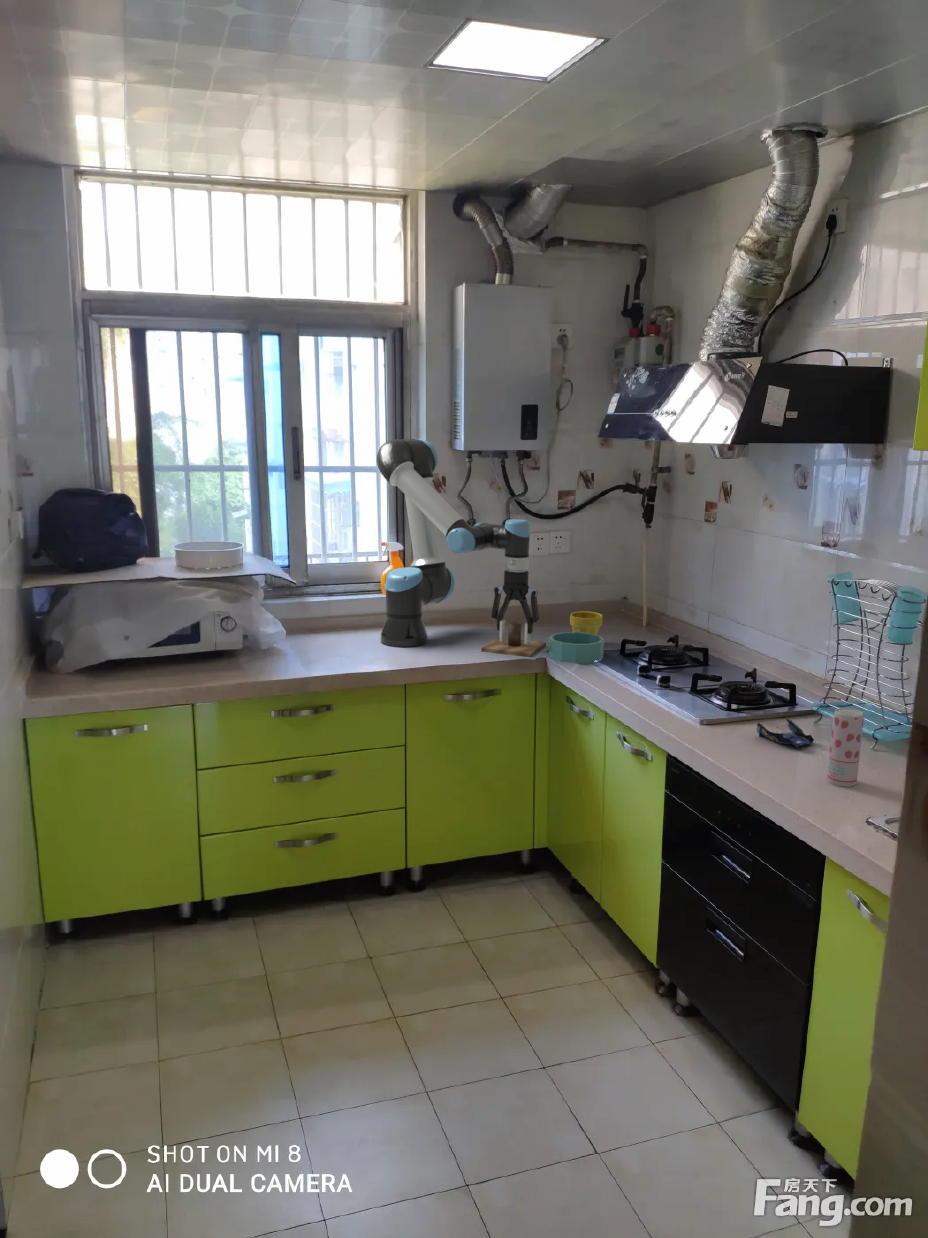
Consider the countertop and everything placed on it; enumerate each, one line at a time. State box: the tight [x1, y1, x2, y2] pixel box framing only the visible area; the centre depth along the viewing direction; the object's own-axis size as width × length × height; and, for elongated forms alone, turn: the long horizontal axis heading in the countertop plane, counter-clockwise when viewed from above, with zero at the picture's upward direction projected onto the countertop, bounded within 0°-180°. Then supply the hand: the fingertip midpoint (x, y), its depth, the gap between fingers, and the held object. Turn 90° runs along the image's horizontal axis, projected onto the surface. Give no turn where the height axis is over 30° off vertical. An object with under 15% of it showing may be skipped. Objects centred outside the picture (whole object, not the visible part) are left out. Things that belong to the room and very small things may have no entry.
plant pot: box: [569, 610, 604, 636], centre depth 302 cm, size 10×10×10 cm
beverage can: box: [826, 707, 864, 788], centre depth 189 cm, size 6×6×15 cm
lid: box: [480, 621, 547, 657], centre depth 293 cm, size 16×16×8 cm
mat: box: [472, 638, 549, 660], centre depth 293 cm, size 20×20×1 cm
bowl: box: [548, 631, 605, 665], centre depth 285 cm, size 16×16×6 cm
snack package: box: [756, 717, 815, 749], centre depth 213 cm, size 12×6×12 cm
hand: (514, 641), depth 293 cm, fingers open, 8 cm apart
